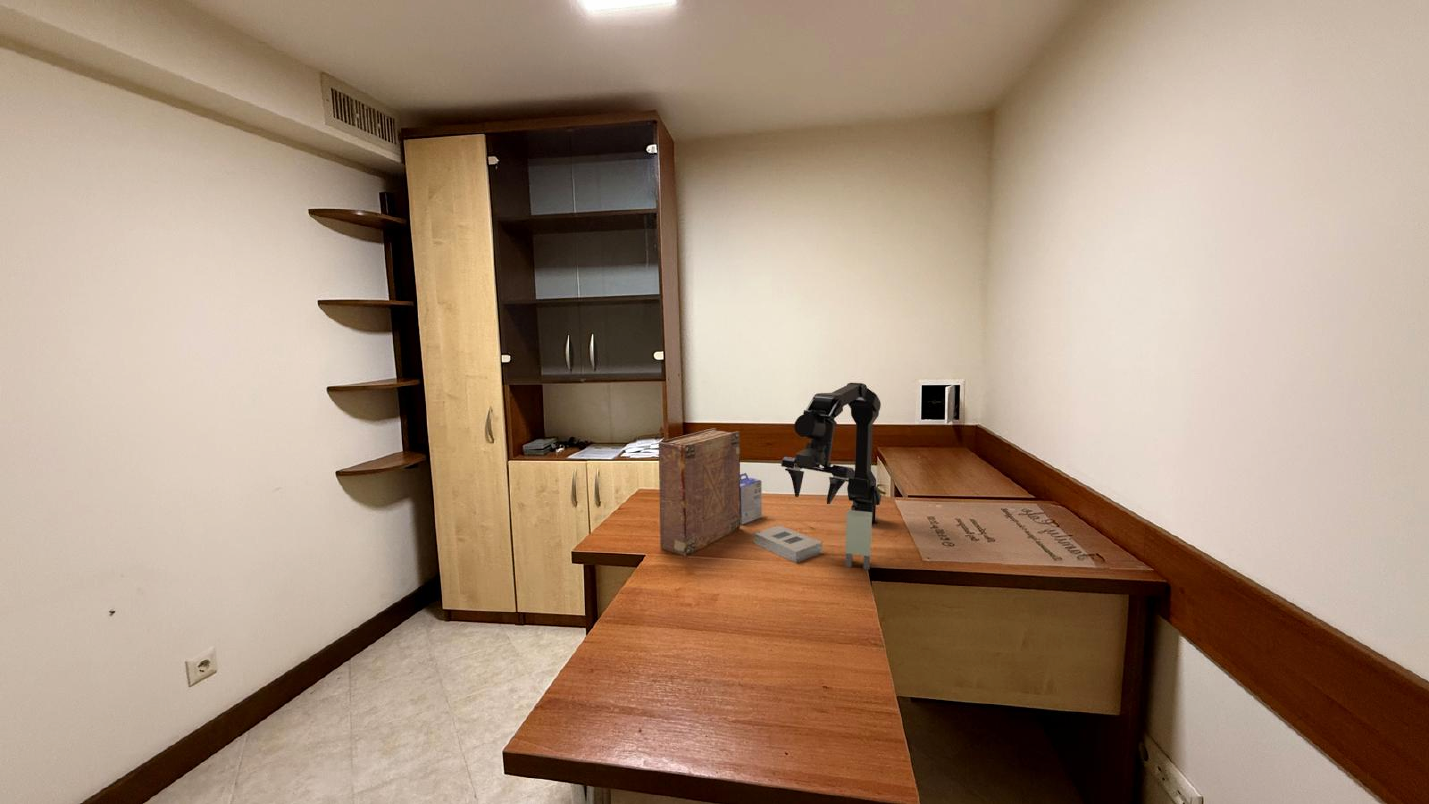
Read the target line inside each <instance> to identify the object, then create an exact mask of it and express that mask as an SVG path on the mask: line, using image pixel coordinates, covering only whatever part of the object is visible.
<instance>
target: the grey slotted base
mask: <svg viewBox="0 0 1429 804" xmlns="http://www.w3.org/2000/svg"><path fill="white" fill-rule="evenodd" d="M753 535H754V536H753V543H754V544H755V545H757V546H759V547H761V548H763V549H765V550H768V551H769V552H772V553H774V554H776V555H778V556H780V557H782V558H785V559H787V560H788V561H791V562H793V563H796V564H797V563H799V562H802V561H806V560H808V559H810V558H812V557H815V556H817V555H820V554H822V553H823V541H821V540H817V539H816V538H813V537H810V536H809V535H805V534H803V533H801V532H798V531H795V530H793V529H791V528H788V527H785V526H783V525H779V524H778V525H776V526H772V527H769V528H767V529H763V530H759V531H757V532H754V534H753Z"/></svg>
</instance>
